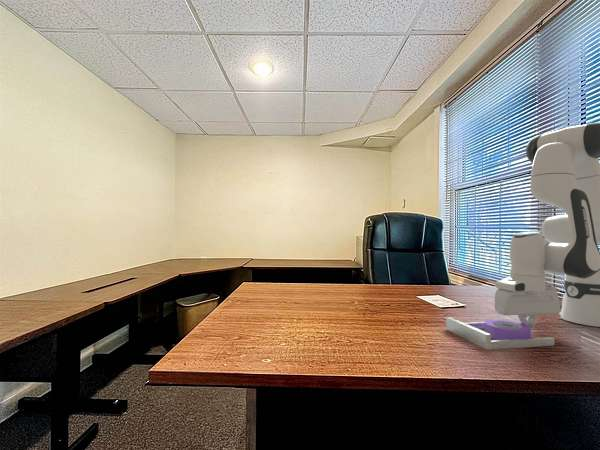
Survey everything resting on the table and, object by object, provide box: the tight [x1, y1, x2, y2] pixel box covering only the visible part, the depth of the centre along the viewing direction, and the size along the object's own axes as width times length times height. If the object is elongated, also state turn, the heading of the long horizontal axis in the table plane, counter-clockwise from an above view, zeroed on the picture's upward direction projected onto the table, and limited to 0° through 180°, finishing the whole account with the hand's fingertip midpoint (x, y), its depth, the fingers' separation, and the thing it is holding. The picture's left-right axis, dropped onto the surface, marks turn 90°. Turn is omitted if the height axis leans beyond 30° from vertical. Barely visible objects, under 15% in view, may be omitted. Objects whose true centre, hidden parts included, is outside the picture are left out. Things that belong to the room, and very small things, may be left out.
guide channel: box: [445, 316, 556, 350], centre depth 93 cm, size 22×17×4 cm
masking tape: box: [484, 319, 532, 340], centre depth 93 cm, size 12×12×4 cm
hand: (527, 328), depth 94 cm, fingers closed
